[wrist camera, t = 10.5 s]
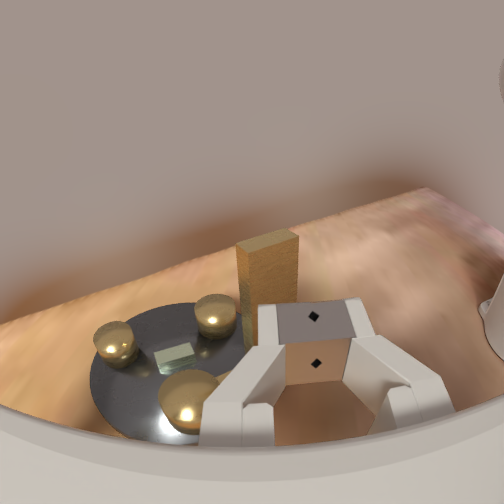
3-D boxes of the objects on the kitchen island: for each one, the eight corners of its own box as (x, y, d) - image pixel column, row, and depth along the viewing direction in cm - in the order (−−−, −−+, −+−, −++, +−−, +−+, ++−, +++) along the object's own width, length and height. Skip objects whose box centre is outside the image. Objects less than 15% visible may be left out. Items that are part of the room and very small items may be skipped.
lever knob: (271, 349, 34) (270, 219, 26) (303, 383, 30) (317, 246, 22) (157, 399, 28) (106, 269, 20) (179, 444, 24) (120, 317, 16)
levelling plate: (230, 293, 47) (227, 268, 44) (309, 403, 29) (313, 379, 27) (90, 332, 39) (79, 308, 37) (105, 470, 21) (85, 451, 19)
